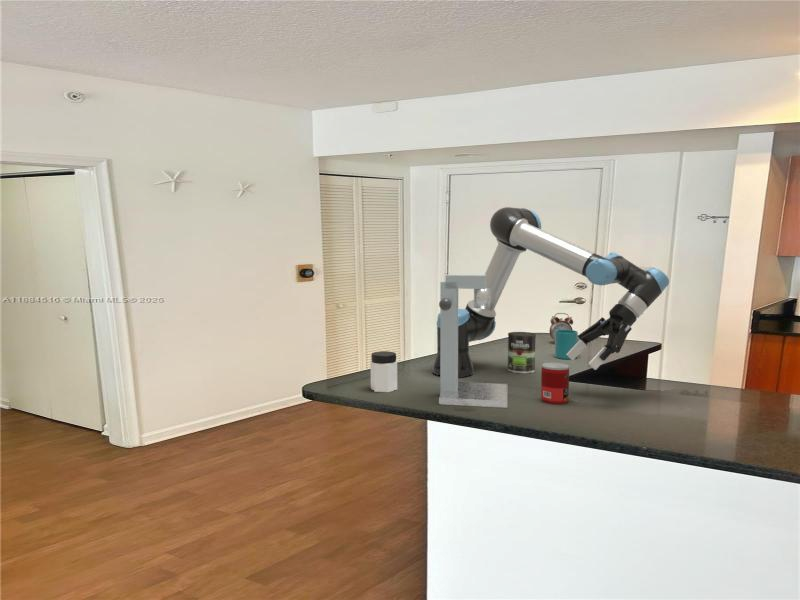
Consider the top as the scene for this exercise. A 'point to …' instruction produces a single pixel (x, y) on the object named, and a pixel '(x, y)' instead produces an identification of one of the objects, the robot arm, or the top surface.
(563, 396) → the canned food
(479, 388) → the press
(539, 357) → the top surface
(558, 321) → the alarm clock
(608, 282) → the robot arm
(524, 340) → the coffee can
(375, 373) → the jar
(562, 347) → the cup
